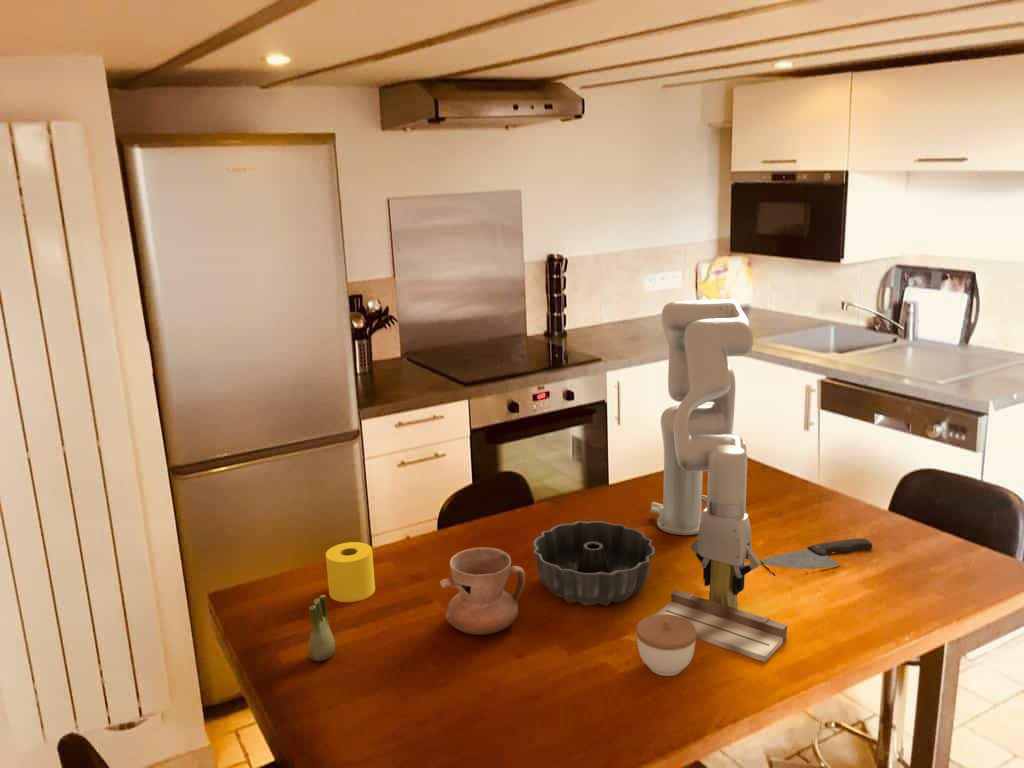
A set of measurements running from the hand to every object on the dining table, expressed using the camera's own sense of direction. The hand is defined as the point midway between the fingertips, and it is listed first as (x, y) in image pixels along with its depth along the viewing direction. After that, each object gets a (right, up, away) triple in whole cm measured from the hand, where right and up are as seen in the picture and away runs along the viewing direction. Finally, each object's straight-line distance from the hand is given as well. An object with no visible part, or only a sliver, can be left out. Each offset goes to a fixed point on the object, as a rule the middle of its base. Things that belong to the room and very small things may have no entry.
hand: (723, 587), depth 178 cm
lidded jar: (-15, -10, -19) cm, 27 cm away
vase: (0, -4, +1) cm, 4 cm away
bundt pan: (-26, -3, +12) cm, 28 cm away
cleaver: (+28, +1, +21) cm, 35 cm away
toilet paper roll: (-79, -4, +13) cm, 80 cm away
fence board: (-3, -7, -8) cm, 11 cm away
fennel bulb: (-80, -11, -13) cm, 82 cm away
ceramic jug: (-49, -7, -2) cm, 50 cm away
